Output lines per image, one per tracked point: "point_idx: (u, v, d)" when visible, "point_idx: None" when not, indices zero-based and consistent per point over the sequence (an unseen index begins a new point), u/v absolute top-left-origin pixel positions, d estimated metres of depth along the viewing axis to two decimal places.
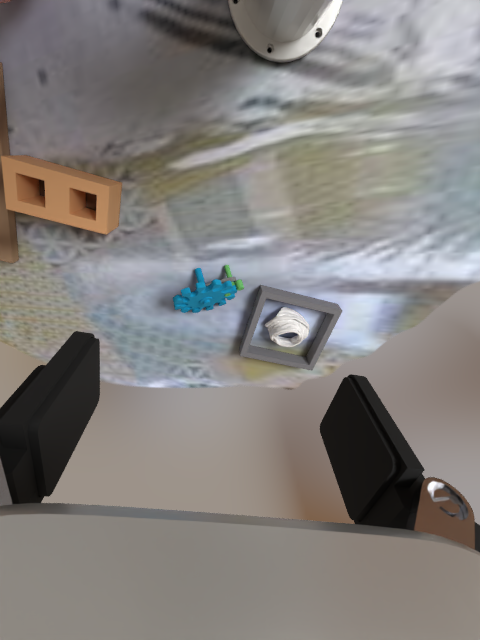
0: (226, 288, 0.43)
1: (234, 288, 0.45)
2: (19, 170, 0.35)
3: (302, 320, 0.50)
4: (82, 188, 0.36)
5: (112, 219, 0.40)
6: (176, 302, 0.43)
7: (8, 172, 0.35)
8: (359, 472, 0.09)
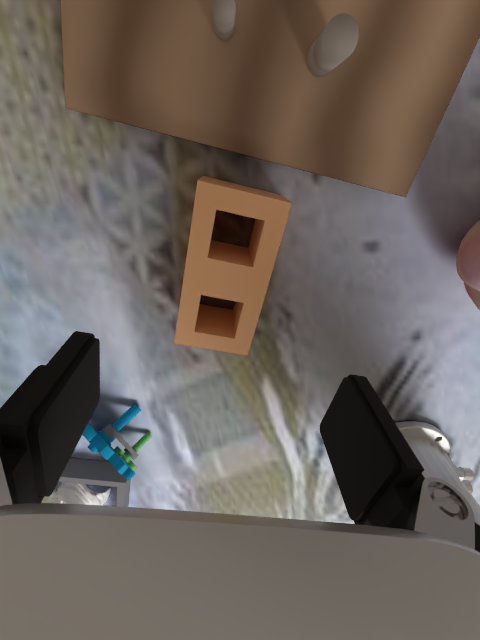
0: None
1: None
2: (268, 229, 0.19)
3: None
4: (243, 321, 0.23)
5: None
6: (82, 434, 0.26)
7: (265, 208, 0.19)
8: (359, 472, 0.09)
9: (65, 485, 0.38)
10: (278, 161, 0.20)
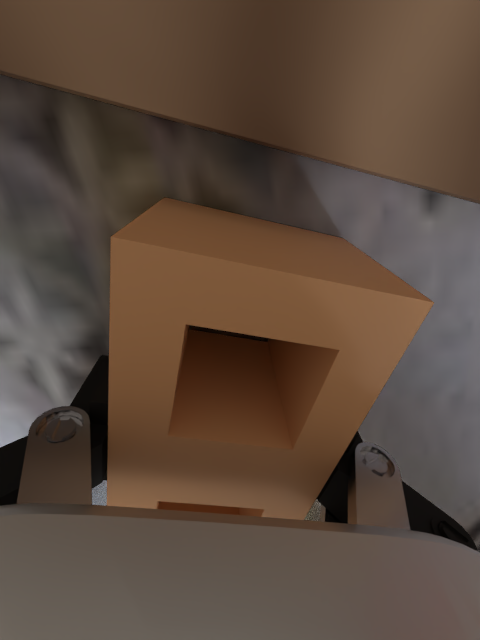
0: None
1: None
2: (346, 368, 0.06)
3: None
4: None
5: None
6: None
7: (345, 319, 0.06)
8: None
9: None
10: (361, 163, 0.08)
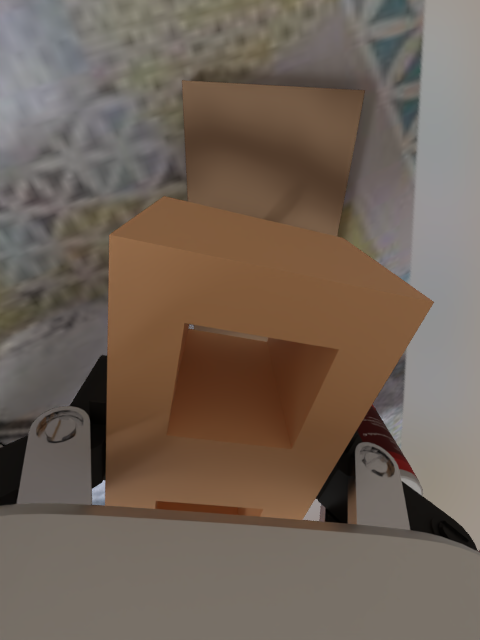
0: None
1: None
2: (345, 368, 0.06)
3: None
4: None
5: None
6: None
7: (344, 318, 0.06)
8: None
9: None
10: None
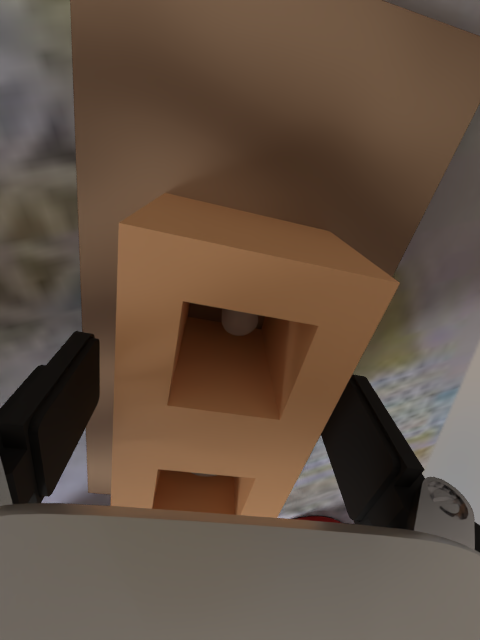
0: None
1: None
2: (325, 343, 0.07)
3: None
4: (253, 504, 0.11)
5: None
6: None
7: (322, 297, 0.07)
8: (359, 472, 0.09)
9: None
10: None
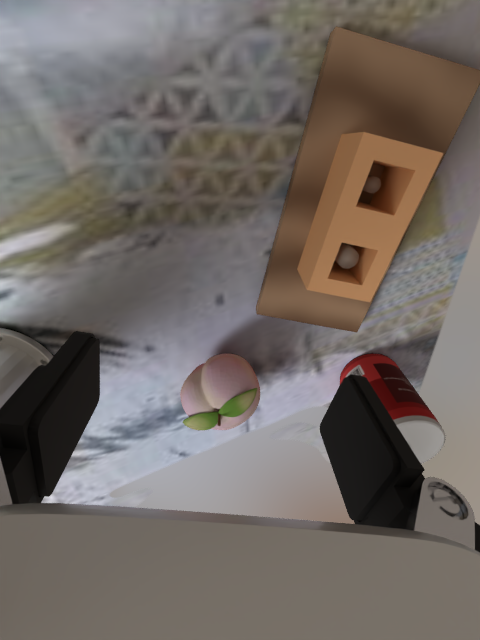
0: None
1: None
2: (416, 178, 0.21)
3: None
4: (373, 268, 0.25)
5: None
6: None
7: (418, 158, 0.21)
8: (359, 472, 0.09)
9: None
10: (282, 224, 0.28)
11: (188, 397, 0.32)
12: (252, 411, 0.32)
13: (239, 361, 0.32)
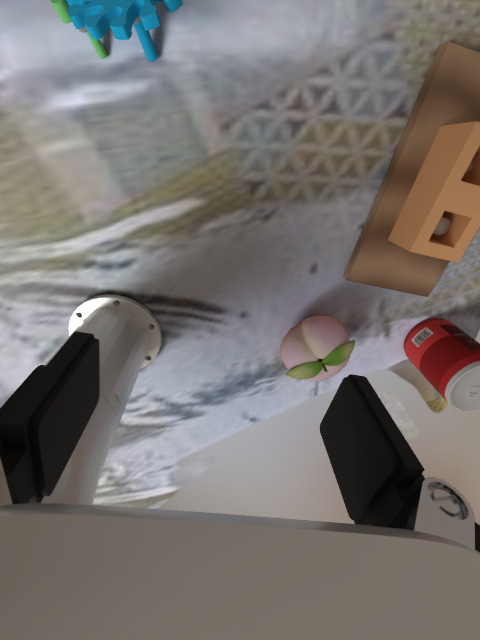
0: (79, 8, 0.23)
1: (69, 2, 0.23)
2: None
3: None
4: (465, 233, 0.31)
5: None
6: None
7: None
8: (359, 472, 0.09)
9: None
10: (382, 200, 0.34)
11: (294, 350, 0.37)
12: (346, 363, 0.38)
13: (335, 320, 0.37)
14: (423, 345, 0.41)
